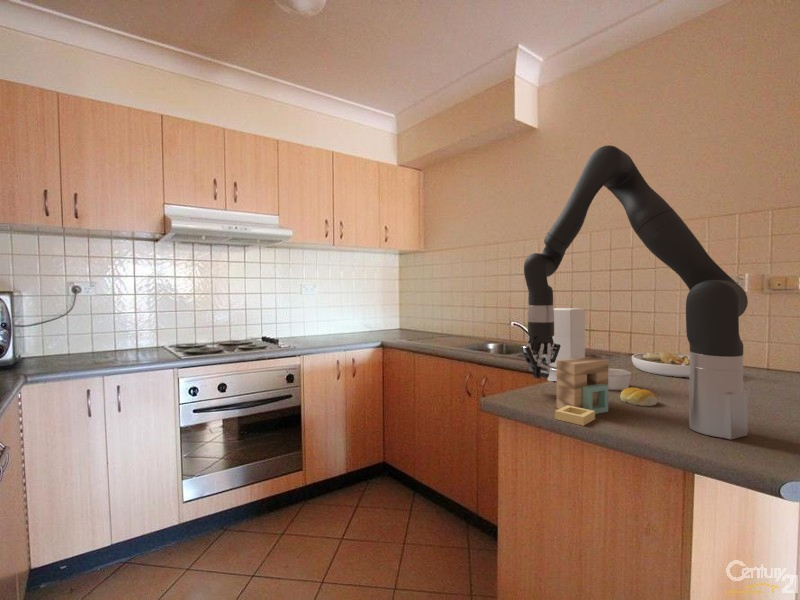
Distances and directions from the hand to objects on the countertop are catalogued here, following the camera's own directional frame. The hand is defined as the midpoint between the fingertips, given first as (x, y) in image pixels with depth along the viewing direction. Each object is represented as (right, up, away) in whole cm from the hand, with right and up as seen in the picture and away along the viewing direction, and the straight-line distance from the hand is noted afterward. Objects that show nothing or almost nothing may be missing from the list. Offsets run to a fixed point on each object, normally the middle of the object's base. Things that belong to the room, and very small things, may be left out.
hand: (541, 377), depth 120 cm
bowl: (+63, -4, +32) cm, 71 cm away
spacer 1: (0, -6, -23) cm, 24 cm away
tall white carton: (+15, -5, +17) cm, 23 cm away
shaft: (+2, +1, -5) cm, 6 cm away
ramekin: (+26, -5, +9) cm, 28 cm away
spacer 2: (+8, -5, -18) cm, 20 cm away
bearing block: (+6, -5, -14) cm, 16 cm away
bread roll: (+24, -5, -9) cm, 26 cm away
